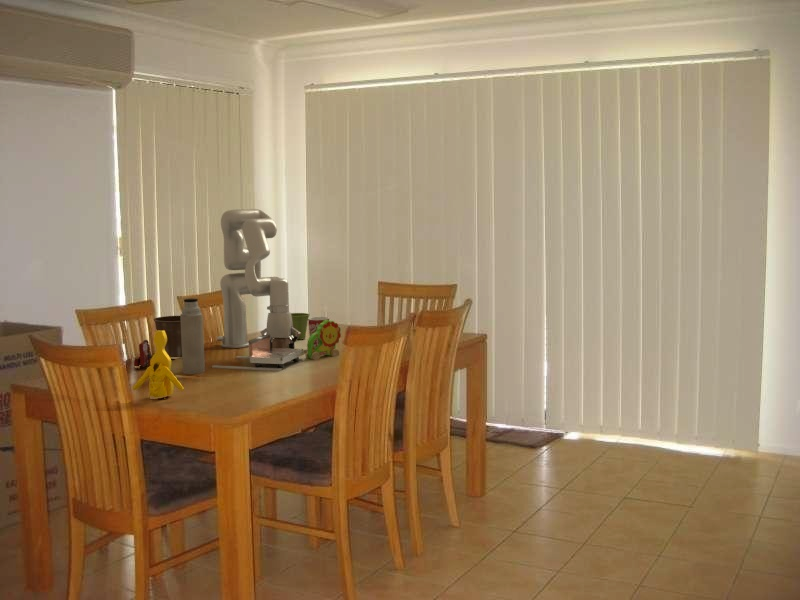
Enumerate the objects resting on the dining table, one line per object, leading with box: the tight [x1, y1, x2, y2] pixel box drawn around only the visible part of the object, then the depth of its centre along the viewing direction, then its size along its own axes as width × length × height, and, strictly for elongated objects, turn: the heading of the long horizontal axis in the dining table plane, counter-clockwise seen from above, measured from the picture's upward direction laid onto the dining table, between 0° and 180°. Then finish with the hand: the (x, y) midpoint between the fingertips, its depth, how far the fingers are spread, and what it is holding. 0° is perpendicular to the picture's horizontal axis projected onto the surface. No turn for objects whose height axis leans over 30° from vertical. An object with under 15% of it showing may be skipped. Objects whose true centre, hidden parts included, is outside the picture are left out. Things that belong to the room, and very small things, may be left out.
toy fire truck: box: [133, 339, 153, 367], centre depth 359 cm, size 7×12×10 cm, turn 1°
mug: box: [308, 316, 330, 349], centre depth 393 cm, size 13×9×14 cm
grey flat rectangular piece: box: [211, 355, 304, 372], centre depth 357 cm, size 28×21×2 cm
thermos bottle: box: [179, 298, 206, 375], centre depth 343 cm, size 8×8×28 cm
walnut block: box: [272, 338, 290, 349], centre depth 375 cm, size 5×5×8 cm
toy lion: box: [305, 320, 342, 361], centre depth 371 cm, size 16×5×15 cm, turn 135°
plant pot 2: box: [290, 312, 311, 341], centre depth 421 cm, size 12×12×11 cm
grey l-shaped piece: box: [247, 333, 304, 369], centre depth 355 cm, size 14×20×11 cm
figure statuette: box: [131, 330, 185, 397], centre depth 304 cm, size 18×8×22 cm, turn 82°
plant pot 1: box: [153, 315, 182, 357], centre depth 379 cm, size 16×16×16 cm
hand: (281, 352), depth 375 cm, fingers open, 8 cm apart
